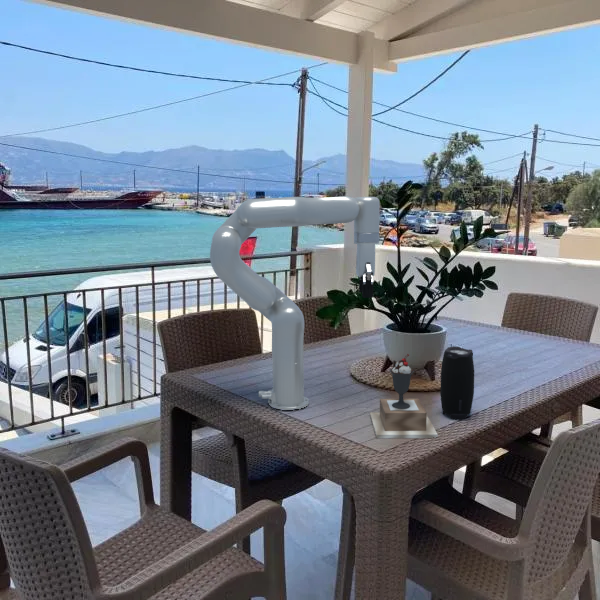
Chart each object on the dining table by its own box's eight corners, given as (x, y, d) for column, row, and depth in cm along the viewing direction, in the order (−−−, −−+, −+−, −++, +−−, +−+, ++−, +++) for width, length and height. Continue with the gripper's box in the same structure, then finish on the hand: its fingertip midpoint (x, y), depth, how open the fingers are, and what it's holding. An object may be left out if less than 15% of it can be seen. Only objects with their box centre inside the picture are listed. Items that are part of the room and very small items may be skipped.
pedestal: (376, 438, 150) (376, 416, 149) (369, 415, 166) (370, 395, 165) (437, 438, 150) (438, 415, 149) (425, 415, 166) (425, 394, 165)
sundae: (413, 410, 152) (415, 356, 150) (388, 409, 154) (389, 355, 151) (413, 402, 159) (414, 350, 156) (389, 401, 160) (389, 349, 157)
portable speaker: (442, 408, 171) (444, 344, 168) (474, 412, 168) (477, 347, 164) (436, 417, 164) (439, 351, 160) (470, 422, 160) (473, 355, 156)
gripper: (351, 236, 179) (351, 290, 182) (356, 240, 162) (356, 300, 165) (375, 236, 179) (374, 290, 182) (382, 240, 162) (382, 299, 165)
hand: (366, 294), depth 174 cm, fingers open, 9 cm apart
